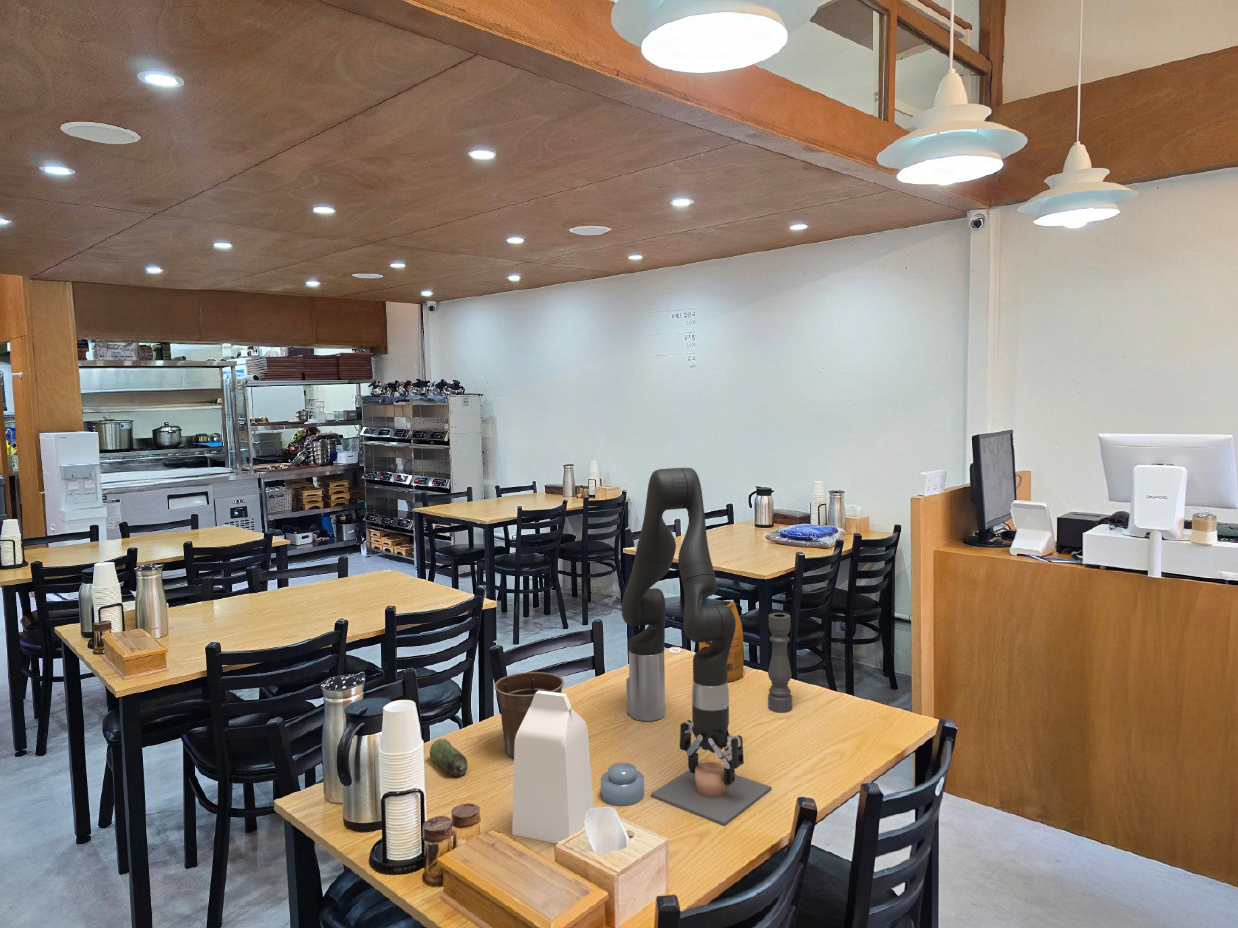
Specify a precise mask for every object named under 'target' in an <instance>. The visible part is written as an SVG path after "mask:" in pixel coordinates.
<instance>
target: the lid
mask: <svg viewBox="0 0 1238 928" xmlns="http://www.w3.org/2000/svg"><path fill="white" fill-rule="evenodd" d="M724 768H725V766H724V764H723V763H719V762H715V761H714V762H713V761H712V762H711V761H708V762H707V761H706V762H701V764H699V765H697V766H696V768H695V783H696V792H697V793H698V794H699V795H701V796H703V797H707V798H717V797H721V796H723V795H725V794H726V792H727V786H726V785H724Z"/></svg>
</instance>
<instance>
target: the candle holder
mask: <svg viewBox="0 0 1238 928" xmlns="http://www.w3.org/2000/svg"><path fill="white" fill-rule="evenodd" d="M791 620H792V619H791V615H790V614H789V613H784V612H773V613H772V612H771V613H769V614H768V629H769V631H770V633H771V636H770V637H769V641H770V642H771V644H772V646H771V647H772V648H771V650H772V653H771V657H770V662H769V667H768V671H767V677H768V678H769V680H770V681H771V686H770V687H769V689H768V692H769V693H768V694H767V708H768V710H769V711H771V712H773V713H779V714H780V713H781V714H784V713H790V712H791V711H792V710H793V707H792V706H793V699H792V698H793V696H792V694H791V693H792V691H791V689H790V688H789V687H790V686H788V685H789V682H790V680H791V679H792V676H793V675H792V670H791V666H790V661H789V657H788V643H789V642H790V637H789V636H788V634H789V632H790V631H791V630H790V629H791V628H792V627H791V624H792V623H791Z"/></svg>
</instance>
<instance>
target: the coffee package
mask: <svg viewBox="0 0 1238 928" xmlns="http://www.w3.org/2000/svg"><path fill="white" fill-rule="evenodd" d="M726 606H728V607H729V608H730V609H731V610H732V611H733V613H734V616H735V620H736V629H735V634H734V638H733V641H732V644H731V648H730V652H729V657H728V661H727V682H730V683H731V682H732V683H733V682H735V681H738V680H739V679H740V678H744V632H743V625H742V624H743V623H742V620H741V618H740V615H739V612H738V608H737V606H736V603H735V601H731V602H729V603H728V604H726ZM711 643H712V641H707V642H698V652H699V651H701V650H703V649H706V648H708V647H709V646H710V645H711Z"/></svg>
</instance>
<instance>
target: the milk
mask: <svg viewBox="0 0 1238 928" xmlns="http://www.w3.org/2000/svg"><path fill="white" fill-rule="evenodd" d="M592 781H593V779H592V768H591V756H590V742H589V731H588V726H587V722H586V720H585V719H584V718H582V716H581V715H579V713H577V712H576V711H575V710H574V709H573V708H572V704H571V702H570V700H569V698H568V695H567V693H562V692H561V693H555V692H547V691H537V692H536V693H535V695H534V698H533V700H532V703H531V706H530V707H529V709H528V711H527V713H526V715H525V717H524V719H523V721H522V723H521V725H520V727H519V730H518V732H517V734H516V737H515V744H514V758H513V791H512V793H513V795H512V831H511V833H512V834H511V835H513V836H518V837H524V838H527V839H532V840H537V841H543V842H547V843H553V844H557V843H556V842H557V841H562V840H564V839H566V838H568V837H569V836H571V835H573V834H574V833H577V832H578V831H580V830H581V829H582V828H583V824H584V817H585V813H586V811H588V810H589V809H591V808H594V809H595V807H594V795H593V793H594V792H593V782H592Z"/></svg>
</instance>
